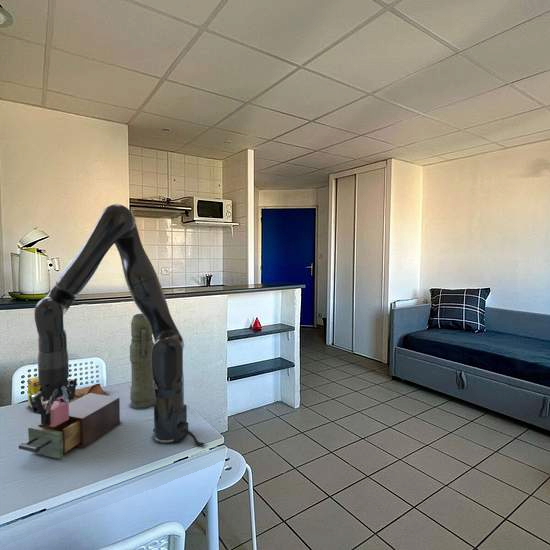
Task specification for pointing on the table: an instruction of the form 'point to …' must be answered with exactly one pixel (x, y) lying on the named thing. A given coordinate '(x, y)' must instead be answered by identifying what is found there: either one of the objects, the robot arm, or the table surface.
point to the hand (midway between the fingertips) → (55, 420)
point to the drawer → (53, 438)
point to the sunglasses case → (86, 392)
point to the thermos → (141, 363)
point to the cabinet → (95, 415)
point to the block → (58, 413)
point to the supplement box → (33, 388)
